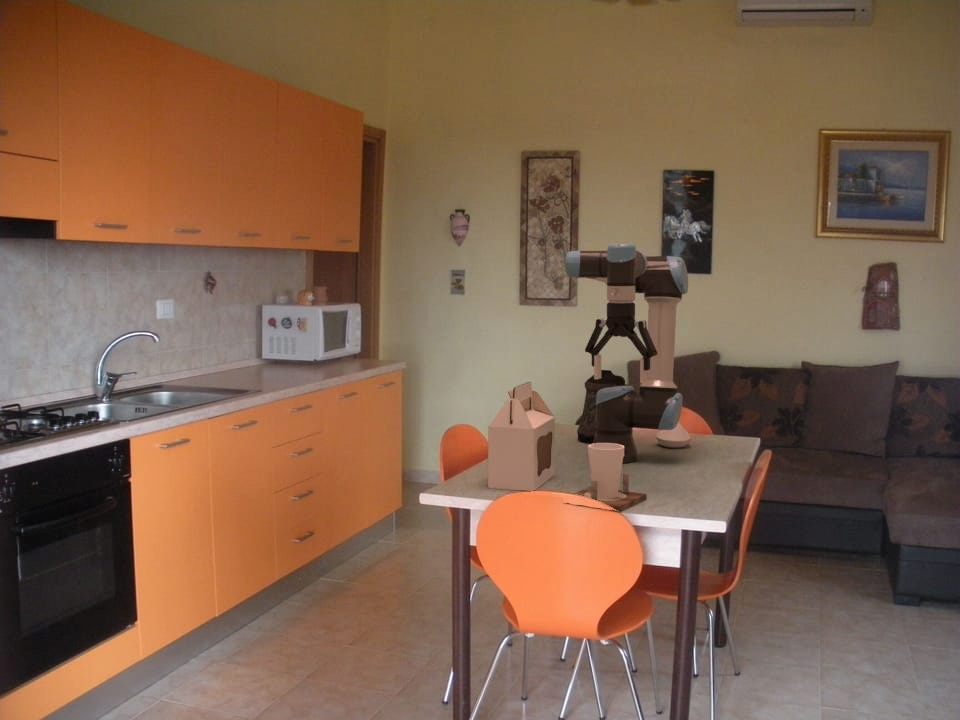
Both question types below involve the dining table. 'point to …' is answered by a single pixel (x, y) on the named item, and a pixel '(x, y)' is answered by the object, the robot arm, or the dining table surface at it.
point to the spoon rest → (673, 437)
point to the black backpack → (592, 386)
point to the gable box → (521, 442)
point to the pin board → (623, 498)
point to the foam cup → (606, 467)
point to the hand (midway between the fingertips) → (620, 380)
